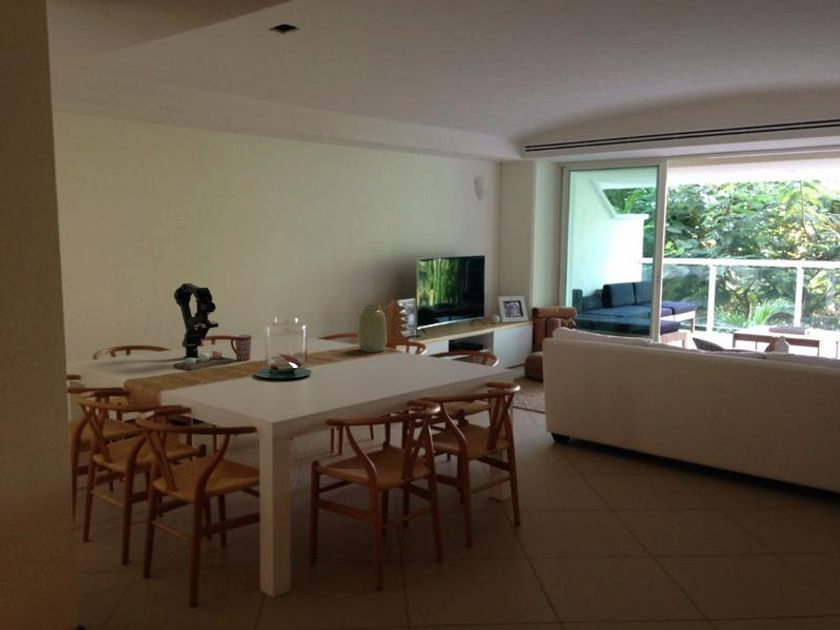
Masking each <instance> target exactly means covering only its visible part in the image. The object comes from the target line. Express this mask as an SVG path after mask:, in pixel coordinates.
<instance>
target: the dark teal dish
mask: <svg viewBox="0 0 840 630" xmlns="http://www.w3.org/2000/svg"><path fill="white" fill-rule="evenodd" d="M278 355H279V356H280V357H282V358H284V359H285V361H287V362H288V364H290V365H291V367H288V366H287V367H286V366H285V367H284V366H278V365H273V364H270V367H266V368H261V369H259V370H257V371H256V370H255V372H254V376H255V375H256V376H257V377H262V378H270V379H292V378H300V377H305V376H309V375H310V374H312V370H310V369H308V368H305V366H304V364H303V362H301V361H299V360H298V359H297V358H296V357H294V356H290V355H288V354H285V353H284V354H283V353H278Z"/></svg>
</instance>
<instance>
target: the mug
mask: <svg viewBox="0 0 840 630" xmlns="http://www.w3.org/2000/svg"><path fill="white" fill-rule="evenodd" d="M234 341H235V346H234ZM251 345H252V335H251V334H237V335H234V337H232V338H231V340H230V347H231V349H232V350H233V352H234V354H235V356H236V357H235V358H236V361H238V362H239V361H240V362H248V361H251V349H252V348H251V347H252V346H251Z"/></svg>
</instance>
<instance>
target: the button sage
mask: <svg viewBox="0 0 840 630" xmlns="http://www.w3.org/2000/svg"><path fill="white" fill-rule="evenodd" d="M196 359H197V358H185V361H184V362H186V365H194V364H196Z"/></svg>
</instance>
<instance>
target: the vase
mask: <svg viewBox="0 0 840 630" xmlns="http://www.w3.org/2000/svg"><path fill="white" fill-rule="evenodd" d="M381 308H382V307H381V305H380V304H365V305H364V309H363V310H362V311H361V313H360V315H359V320H358V326H357V327H358V329H357V330H358V331H357V343H358V347H359V349H360V351H362V352H364V353H365V352H366V353H379V352H383V351H384V350H385V348H386V347H387V342H388V340H387V338H388V337H387V336H388V331H387V329H388V328H387V318H386V315H385V312H384V311H383V310H382V309H381Z"/></svg>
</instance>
